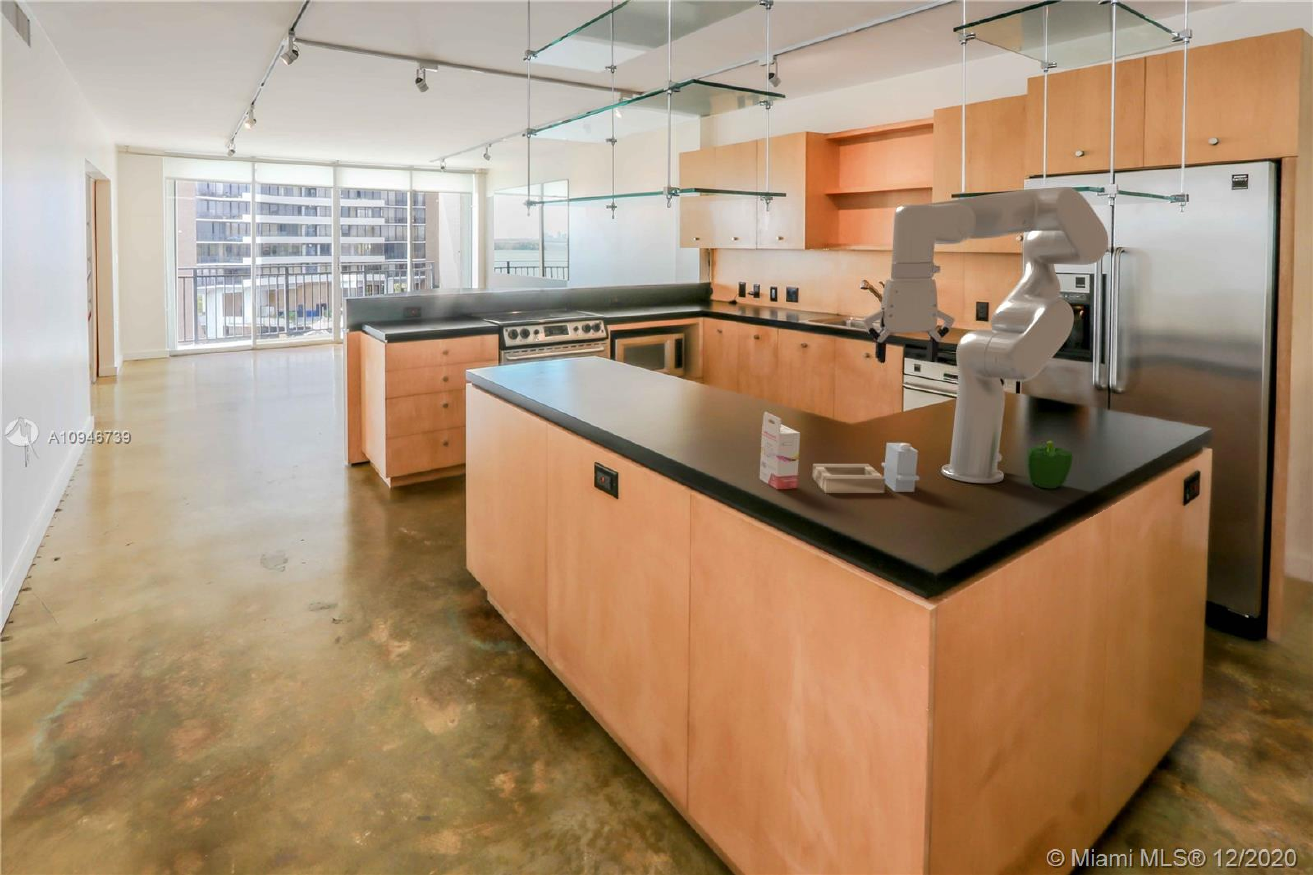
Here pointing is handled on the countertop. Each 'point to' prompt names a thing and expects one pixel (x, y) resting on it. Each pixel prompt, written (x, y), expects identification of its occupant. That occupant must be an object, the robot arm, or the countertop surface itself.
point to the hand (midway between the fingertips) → (905, 361)
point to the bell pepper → (1048, 465)
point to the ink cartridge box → (779, 454)
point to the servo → (900, 467)
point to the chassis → (848, 478)
